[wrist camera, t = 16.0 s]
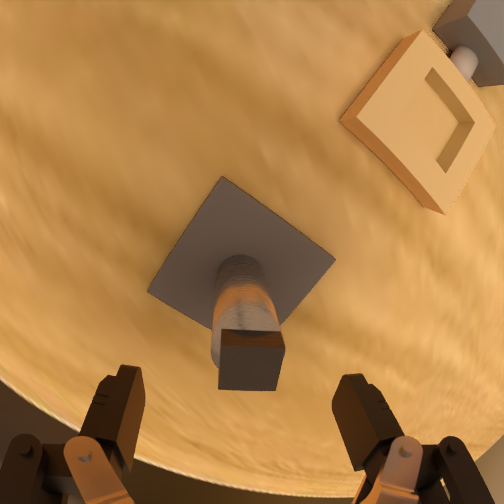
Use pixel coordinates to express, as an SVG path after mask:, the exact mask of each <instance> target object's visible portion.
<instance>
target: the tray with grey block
mask: <svg viewBox="0 0 504 504" xmlns="http://www.w3.org/2000/svg"><path fill="white" fill-rule="evenodd" d="M432 30H433V31H434V32H435V33H436V34H437V35H438V37H439V38H440V39H441V40H442V41H443V42H444V43H445V44H446V46H447V47H448V48H449V49H450V50H451V51H452V55H451V56H450V58H448V57H447V56H446V54H445V53H444V52H443V51H442V50H441V49H440V48H439V46H438V45H437V44H436V43H435V42H434V41H433V40H432V39H431V38H430V37H429V35H428V34H427V33H426V32H425V31H424V30H423V29H422V30H420V31H418V32H416V33H414V34H412V35H410V36H408V37H406V38H404V39H402V41H401V42H400V43H399V44H398V46H397V47H396V48H395V49H394V51H393V52H392V53H391V54H390V56H389V57H388V58H387V60H386V61H385V62H384V63H383V65H382V66H381V67H380V68H379V70H378V71H377V72H376V74H375V75H374V76H373V77H372V79H371V80H370V81H369V83H368V84H367V85H366V86H365V88H364V89H363V90H362V92H361V93H360V94H359V95H358V97H357V98H356V99H355V101H354V102H353V103H352V104H351V106H350V107H349V108H348V110H347V111H346V112H345V113H344V115H343V116H342V117H341V119H340V120H339V122H341V123H342V124H343V125H344V126H345V127H346V128H347V129H348V130H350V131H351V132H352V133H353V134H354V135H355V136H356V137H357V138H358V139H359V140H361V141H362V142H363V143H364V144H365V145H366V146H367V147H368V148H369V149H370V150H371V151H372V152H373V153H374V154H375V155H376V156H377V157H378V158H379V159H380V160H381V161H382V162H383V163H384V164H385V165H386V166H387V167H388V168H389V169H390V170H391V171H392V172H393V173H394V174H395V175H396V176H397V177H398V178H399V179H400V181H401V182H402V183H403V184H404V185H405V186H406V187H407V188H408V189H409V190H410V192H411V193H412V194H413V195H414V196H415V197H416V198H417V200H418V201H419V202H420V203H421V204H422V205H423V207H425V208H428V209H431V210H433V211H436V212H438V213H441V214H443V215H447V213H448V211H449V210H450V208H451V207H452V205H453V204H454V202H455V200H456V199H457V197H458V196H459V194H460V192H461V191H462V189H463V187H464V186H465V184H466V182H467V180H468V179H469V177H470V175H471V173H472V172H473V170H474V168H475V166H476V164H477V163H478V161H479V159H480V157H481V155H482V153H483V151H484V149H485V147H486V145H487V143H488V141H489V139H490V137H491V135H492V133H493V131H494V129H495V127H496V125H495V123H494V121H493V120H492V118H491V116H490V115H489V113H488V112H487V110H486V108H485V107H484V105H483V104H482V102H481V101H480V99H479V98H478V96H477V95H476V93H475V92H474V91H473V89H472V88H471V86H470V85H469V84H468V82H469V81H470V79H471V77H472V78H473V80H474V81H475V83H476V84H477V86H478V87H485V86H495V85H504V0H453V1H452V3H451V4H450V5H449V7H448V8H447V9H446V11H445V12H444V14H443V15H442V16H441V18H440V19H439V21H438V22H437V23H436V25H435V26H434V28H433V29H432Z"/></svg>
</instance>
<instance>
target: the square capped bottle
mask: <svg viewBox="0 0 504 504" xmlns="http://www.w3.org/2000/svg"><path fill="white" fill-rule="evenodd" d="M284 355H285V344H284V340H283V336H282V333H281V329H280V326H279V322H278V319H277V315H276V312H275V308H274V305H273V301H272V298H271V294H270V291H269V287H268V284H267V280H266V277H265V273H264V270H263V267H262V265H261V264H260V263H259V262H258V261H257V260H256V259H255V258H253V257H251V256H248V255H242V254H239V255H234V256H231V257H229V258H227V259H226V260H224V261H223V262H222V263H221V265H220V266H219V268H218V271H217V277H216V289H215V301H214V314H213V328H212V342H211V357H212V360H213V362H214V364H215V365H216V367H217V368H218V369H219V372H218V389H219V390H242V391H276V387H277V383H278V378H279V374H280V370H281V365H282V361H283V358H284Z"/></svg>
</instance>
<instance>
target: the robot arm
mask: <svg viewBox="0 0 504 504" xmlns="http://www.w3.org/2000/svg"><path fill="white" fill-rule="evenodd" d="M385 401H386V400H385V398H384V397H383V395H382V393H381V391H380V390H378V389H377V388H376V387H375V386H374V385H373V384H368V383H367V381H366V379H365V377H364V376H363V374H361V373H358V374H346V375H343V376H342V378H341V380H340V383H339V385H338V388H337V390H336V392H335V395H334V397H333V400H332V411H333V414H334V417H335V420H336V422H337V425H338V428H339V430H340V433H341V436H342V438H343V441H344V444H345V447H346V449H347V452H348V455H349V457H350V460H351V463H352V466H353V468H354V471H355V472H356V471H360V470H365V472H366V475H365V476H364V478H363V480H362V482H361V484H360V487H359V489H358V491H357V493H356V496H355V498H354V500H353V502H352V504H495V503H494V500H493V498H492V496H491V494H490V492H489V490H488V488H487V486H486V484H485V482H484V480H483V478H482V476H481V474H480V472H479V471H478V468H477V466H476V465H475V463H474V461H473V459H472V457H471V455H470V453H469V452H468V450H467V448H466V446H465V445H464V443H463V442H462V441H461V440H460V439H459V438H457V437H454V436H448V437H445V438H444V439H442V440H441V442H440V443H439V444H438V445H421V444H420V443H419V441H418V440H416V439H415V438H413V437H410V436H405V435H404V433H403V431H402V429H401V427H400V426H399V424H398V422H397V420H396V418H395V416H394V415H393V413H392V411H391V409H389V408H390V407H389V405H388V404H387V402H385ZM144 407H145V389H144V384H143V378H142V371H141V368H140V367H136V366H129V365H123V364H122V365H121V366H120V368H119V370H118V373H117V375H116V376H111V375H108V376H106V377H105V378H104V379H103V380H102V381H101V382H100V383H99V385H98V388H97V390H96V393H95V395H94V397H93V400H92V403H91V405H90V407H89V410H88V412H87V415H86V417H85V420H84V423H83V425H82V428H81V431H80V433H79V435H78V436H77V437H74V438H72V439H70V440H69V441H68V442H67V443H66V444H41V443H40V441H39V440H38V439H37V438H36V437H34V436H33V435H30V434H20V435H17V436H16V437H14V438H13V439H12V441H11V443H10V445H9V447H8V450H7V453H6V455H5V458H4V460H3V463H2V466H1V469H0V504H67V502H68V496H69V494H81V495H82V497H83V499H84V501H85V503H86V504H135V503H134V502H133V500H132V499H131V497H130V496H129V494H128V493H127V491H126V490H125V488H124V486H123V485H122V483H121V482H120V479H121V474H122V471H125V472H129V473H130V472H131V467H132V462H133V457H134V452H135V447H136V443H137V438H138V433H139V429H140V424H141V420H142V416H143V411H144ZM442 478H443V480H444V483H445V485H446V487H447V489H448V492H449V494H450V501H449V500H448V497H447V495H446V492H445V490H444V488H443V486H442V483H441V481H440V480H441V479H442Z"/></svg>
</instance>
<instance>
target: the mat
mask: <svg viewBox="0 0 504 504" xmlns="http://www.w3.org/2000/svg"><path fill="white" fill-rule="evenodd" d="M239 254H242V255H248V256H251V257H253V258H255V259H256V260H257V261H258V262H259V263H260V264H261V265H262V267H263V270H264V273H265V277H266V280H267V284H268V287H269V291H270V294H271V298H272V301H273V305H274V308H275V312H276V315H277V319H278V322H279V326H280V325H281V324H282V323H283V322H284V321H285V319H286V318H287V317H288V316H289V315H290V314H291V313H292V311H293V310H294V309H295V308H296V307H297V306H298V305H299V303H300V302H301V301H302V300H303V299H304V298H305V296H306V295H307V294H308V293H309V292H310V291H311V289H312V288H313V287H314V286H315V285H316V283H317V282H318V281H319V280H320V279H321V277H322V276H323V275H324V274H325V273H326V271H327V270H328V269H329V268H330V266H331V265H332V264H333V263H334V261H335V260H336V259H335V258H334V257H333V256H331V255H330V254H329V253H328V252H326V251H325V250H324V249H322V248H321V247H320V246H318V245H317V244H316V243H314V242H313V241H312V240H310V239H309V238H308V237H306V236H305V235H304V234H302V233H301V232H300V231H298V230H297V229H296V228H294V227H293V226H292V225H290V224H289V223H288V222H286V221H285V220H283V219H282V218H281V217H279V216H278V215H277V214H275V213H274V212H273V211H271V210H270V209H268V208H267V207H266V206H264V205H263V204H261V203H260V202H259V201H257V200H256V199H254V198H253V197H252V196H250V195H249V194H247V193H246V192H244V191H243V190H242V189H240V188H239V187H237V186H236V185H235V184H233V183H232V182H230V181H229V180H227V179H226V178H224V177H223V176H222V178H221V179H220V181H219V182H218V183H217V185H216V186H215V188H214V189H213V190H212V192H211V193H210V195H209V196H208V198H207V199H206V201H205V202H204V203H203V205H202V206H201V208H200V209H199V211H198V212H197V214H196V215H195V217H194V218H193V220H192V221H191V223H190V224H189V226H188V227H187V229H186V230H185V232H184V233H183V235H182V236H181V238H180V239H179V241H178V242H177V244H176V245H175V247H174V248H173V250H172V252H171V253H170V255H169V256H168V258H167V259H166V261H165V263H164V264H163V266H162V267H161V269H160V271H159V272H158V274H157V275H156V277H155V279H154V280H153V282H152V283H151V285H150V287H149V288H148V290H147V292H148V293H150V294H151V295H153V296H155V297H156V298H158V299H159V300H161V301H163V302H164V303H166V304H168V305H169V306H171V307H173V308H174V309H176V310H178V311H179V312H181V313H183V314H184V315H186V316H188V317H190V318H191V319H193V320H195V321H197V322H198V323H200V324H202V325H204V326H205V327H207V328H209V329H211V330H212V328H213V314H214V301H215V289H216V277H217V271H218V268H219V266H220V265H221V263H222V262H223V261H224V260H226V259H227V258H229V257H231V256H234V255H239Z"/></svg>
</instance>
